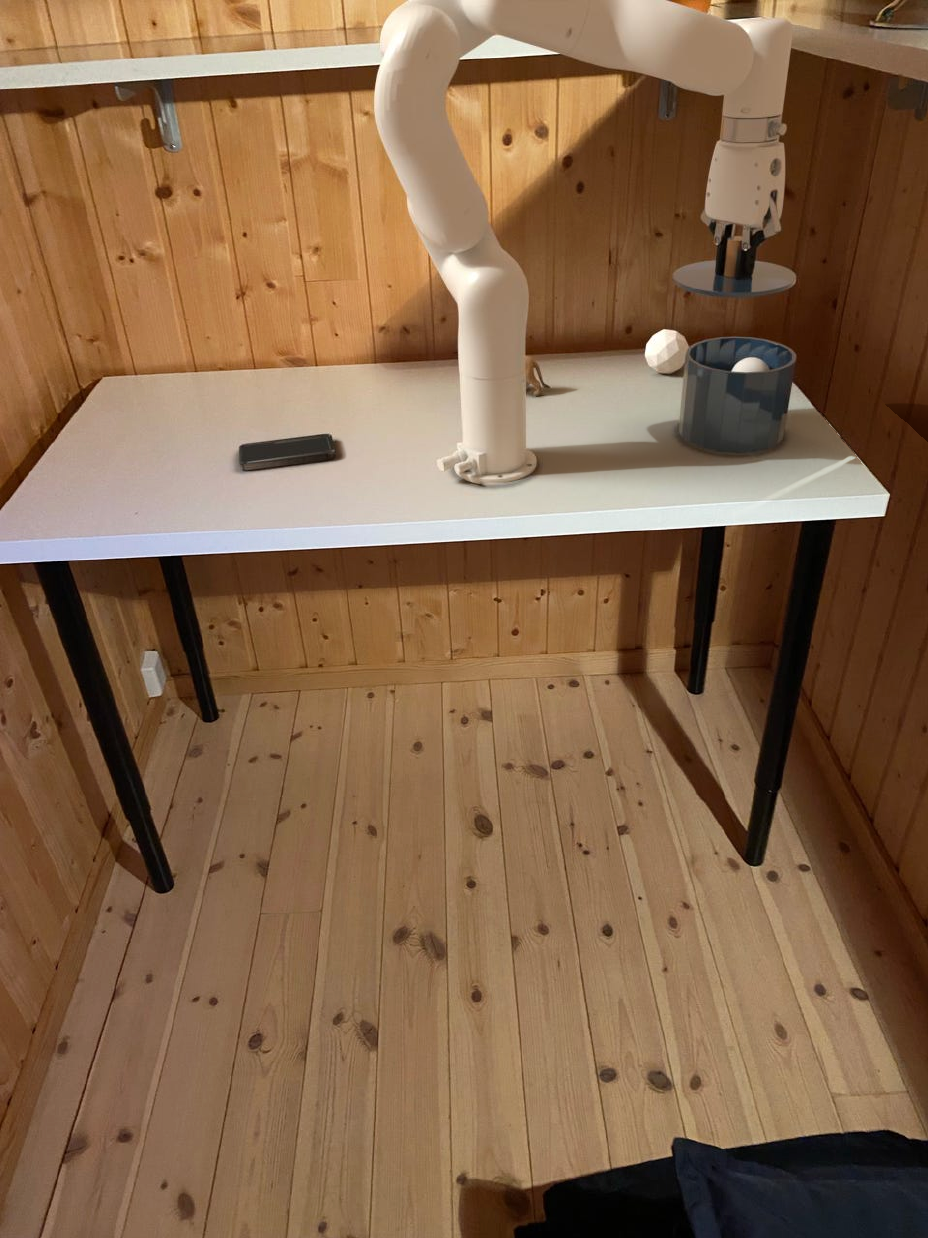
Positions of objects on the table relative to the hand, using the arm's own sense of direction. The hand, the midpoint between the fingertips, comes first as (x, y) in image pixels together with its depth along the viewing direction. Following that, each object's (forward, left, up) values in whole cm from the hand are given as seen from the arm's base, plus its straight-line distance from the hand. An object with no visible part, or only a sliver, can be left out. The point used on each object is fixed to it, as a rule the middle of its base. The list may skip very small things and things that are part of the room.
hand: (733, 273), depth 131 cm
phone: (-54, +41, -25) cm, 73 cm away
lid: (0, 0, -1) cm, 1 cm away
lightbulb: (+3, -1, -24) cm, 24 cm away
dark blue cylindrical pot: (+3, -1, -25) cm, 25 cm away
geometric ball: (+16, +25, -25) cm, 39 cm away
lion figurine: (-12, +37, -25) cm, 47 cm away
